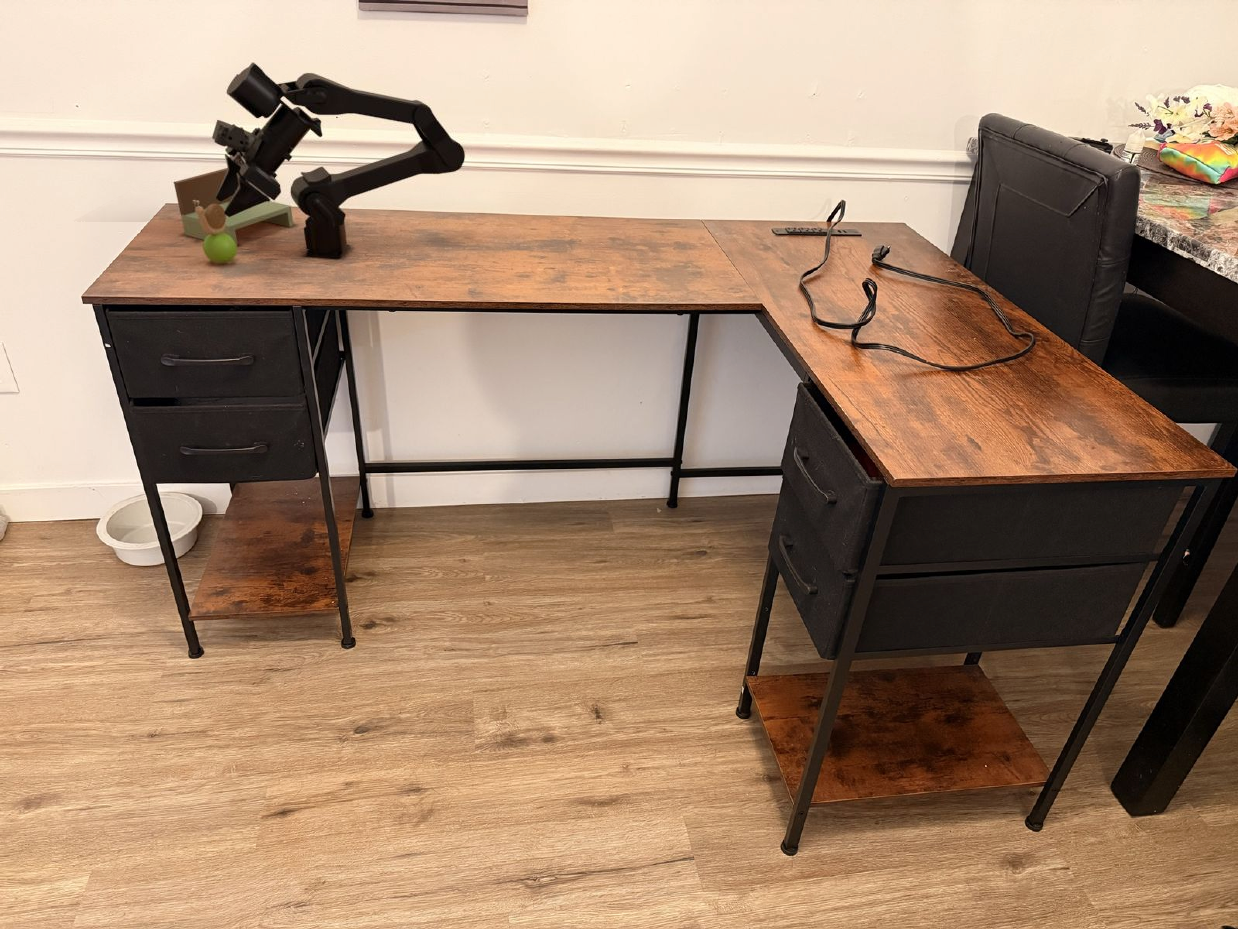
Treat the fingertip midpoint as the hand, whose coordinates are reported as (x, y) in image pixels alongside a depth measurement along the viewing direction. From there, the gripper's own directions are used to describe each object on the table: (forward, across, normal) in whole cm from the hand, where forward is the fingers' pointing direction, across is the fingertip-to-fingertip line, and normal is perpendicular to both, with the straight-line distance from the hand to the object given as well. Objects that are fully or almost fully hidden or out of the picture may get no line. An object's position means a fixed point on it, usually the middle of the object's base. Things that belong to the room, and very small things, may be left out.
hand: (222, 207), depth 147 cm
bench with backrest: (+4, -17, +10) cm, 20 cm away
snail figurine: (+8, 0, +6) cm, 10 cm away
